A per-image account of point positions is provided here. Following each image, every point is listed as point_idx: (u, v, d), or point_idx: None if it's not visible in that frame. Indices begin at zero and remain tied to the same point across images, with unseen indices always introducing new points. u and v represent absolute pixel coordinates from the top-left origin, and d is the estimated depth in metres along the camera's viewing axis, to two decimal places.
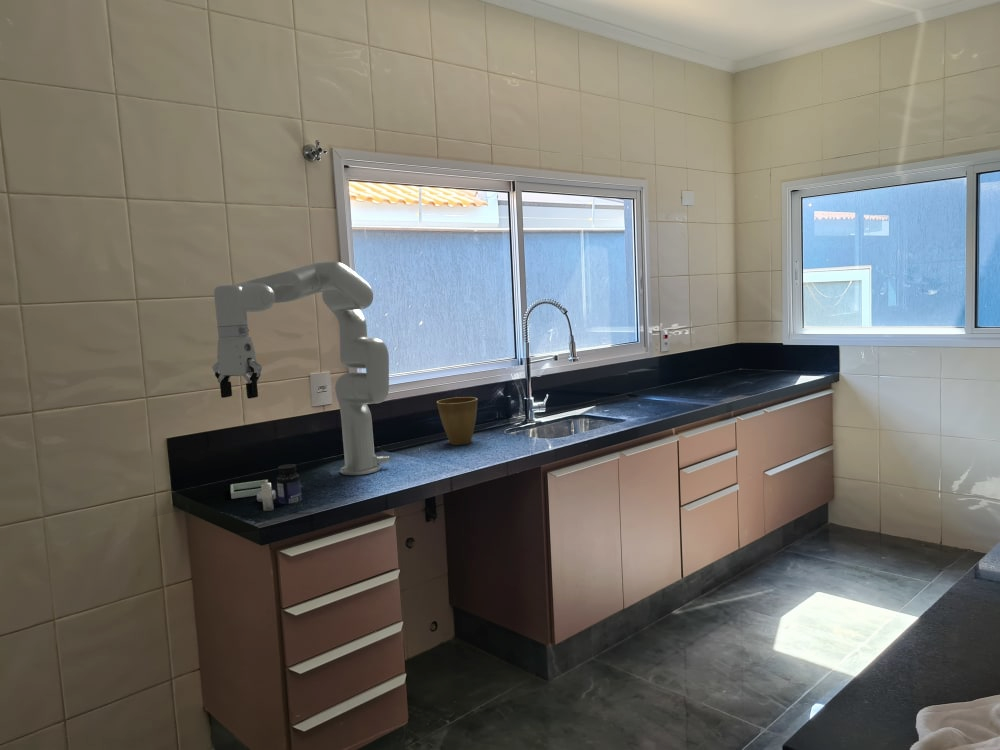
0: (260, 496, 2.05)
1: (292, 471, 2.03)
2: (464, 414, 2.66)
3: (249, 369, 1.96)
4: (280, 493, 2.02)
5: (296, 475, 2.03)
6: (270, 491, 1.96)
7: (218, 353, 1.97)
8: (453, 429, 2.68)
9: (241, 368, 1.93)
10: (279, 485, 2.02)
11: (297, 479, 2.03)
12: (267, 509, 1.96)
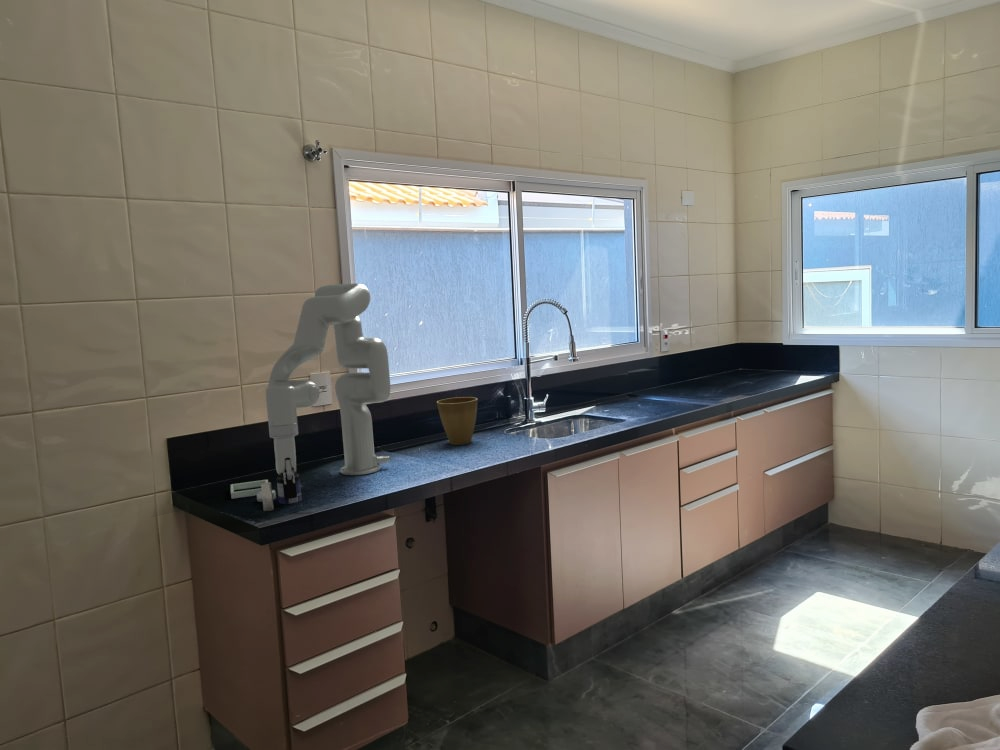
0: (260, 496, 2.05)
1: None
2: (464, 414, 2.66)
3: None
4: (280, 493, 2.02)
5: (296, 475, 2.03)
6: (270, 491, 1.96)
7: (294, 450, 2.00)
8: (453, 429, 2.68)
9: None
10: (279, 485, 2.02)
11: (297, 479, 2.03)
12: (267, 509, 1.96)
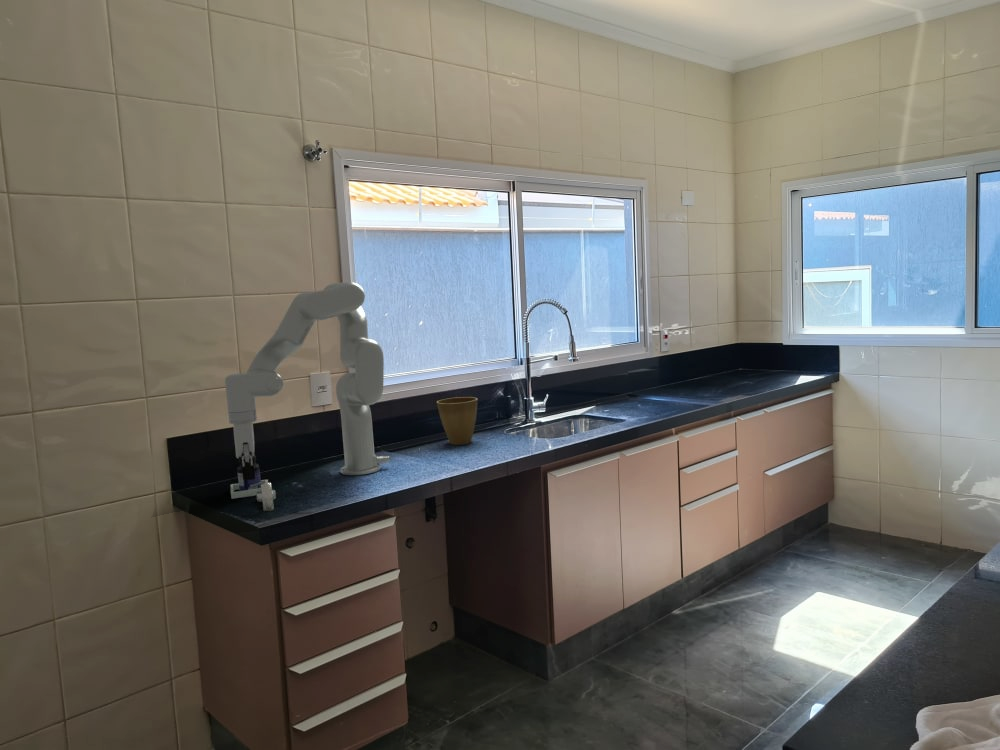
0: (260, 496, 2.05)
1: None
2: (464, 414, 2.66)
3: None
4: (240, 482, 2.15)
5: (255, 465, 2.16)
6: (270, 491, 1.96)
7: (252, 435, 2.12)
8: (453, 429, 2.68)
9: None
10: (239, 475, 2.14)
11: (256, 469, 2.16)
12: (267, 509, 1.96)
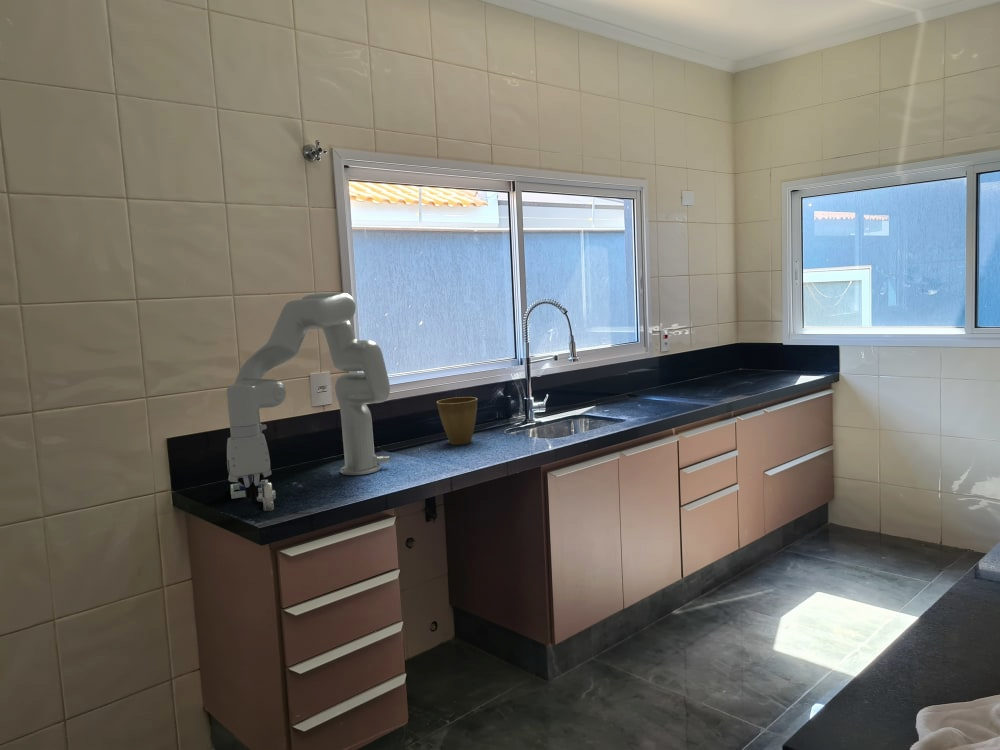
0: (260, 496, 2.05)
1: None
2: (464, 414, 2.66)
3: None
4: None
5: None
6: (270, 491, 1.96)
7: (234, 454, 1.90)
8: (453, 429, 2.68)
9: (267, 464, 1.95)
10: None
11: None
12: (267, 509, 1.96)
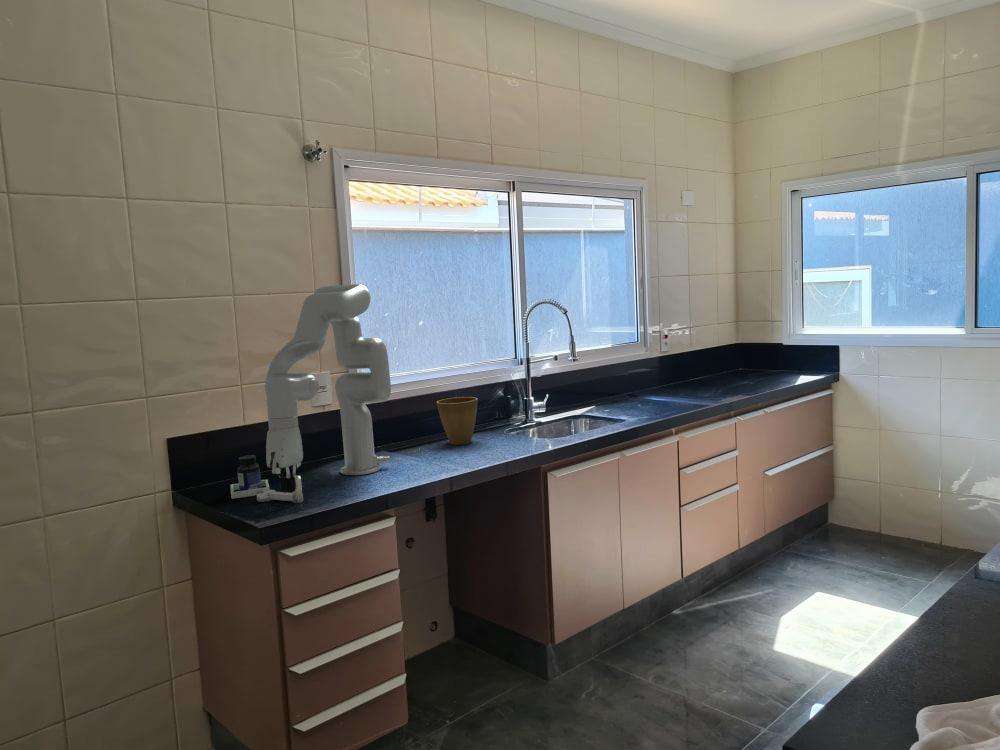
0: (267, 495, 2.05)
1: (252, 462, 2.15)
2: (464, 414, 2.66)
3: None
4: (240, 482, 2.15)
5: (256, 465, 2.16)
6: None
7: (282, 445, 1.94)
8: (453, 429, 2.68)
9: (302, 454, 2.01)
10: (239, 475, 2.14)
11: (257, 469, 2.16)
12: (300, 501, 2.02)
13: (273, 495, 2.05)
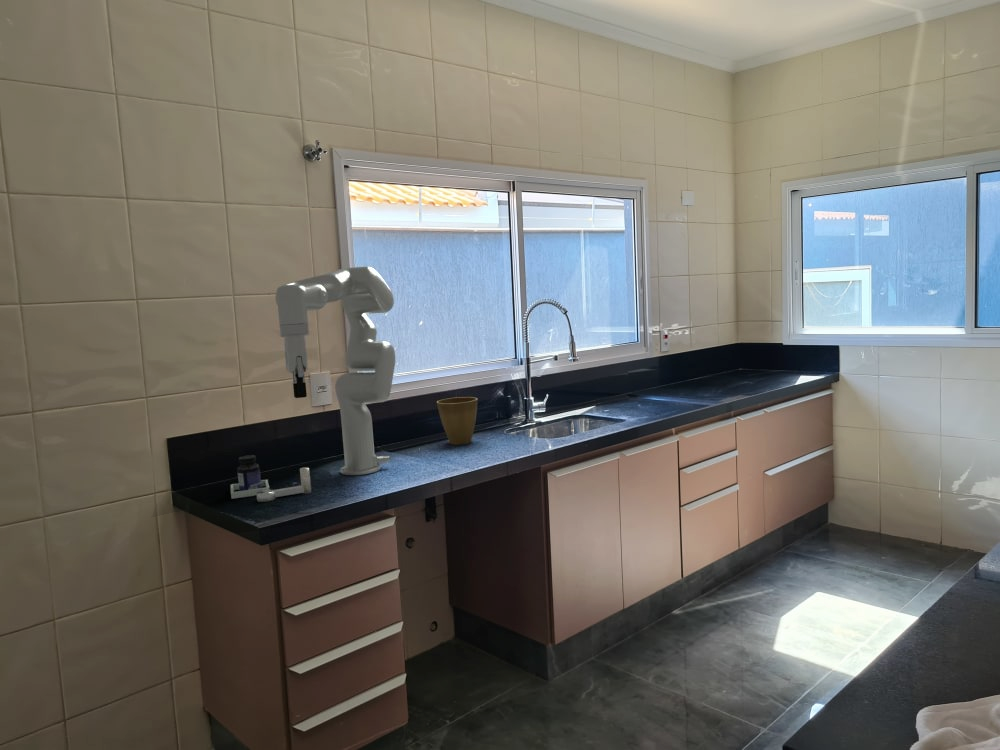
0: (274, 494, 2.07)
1: (252, 462, 2.15)
2: (464, 414, 2.66)
3: None
4: (240, 482, 2.15)
5: (256, 465, 2.16)
6: None
7: None
8: (453, 429, 2.68)
9: None
10: (239, 475, 2.14)
11: (257, 469, 2.16)
12: None
13: (279, 492, 2.08)
